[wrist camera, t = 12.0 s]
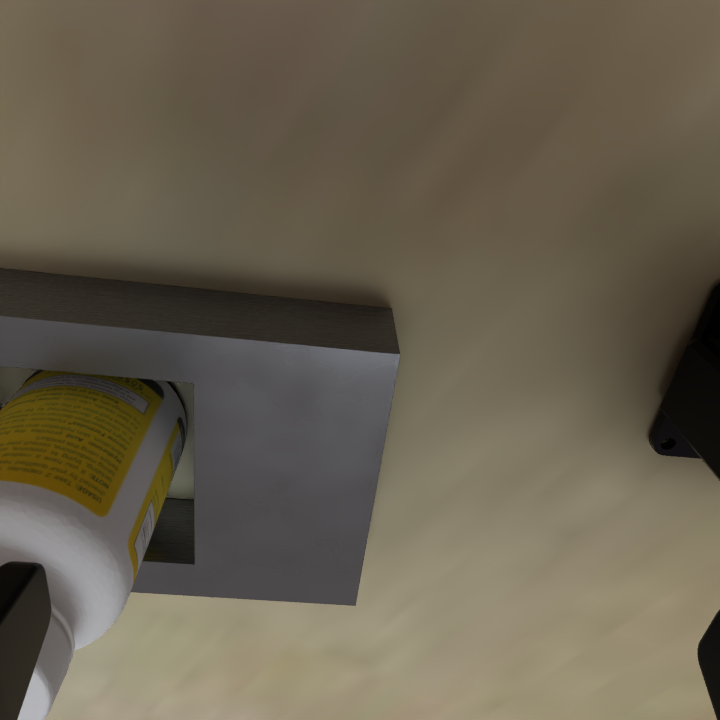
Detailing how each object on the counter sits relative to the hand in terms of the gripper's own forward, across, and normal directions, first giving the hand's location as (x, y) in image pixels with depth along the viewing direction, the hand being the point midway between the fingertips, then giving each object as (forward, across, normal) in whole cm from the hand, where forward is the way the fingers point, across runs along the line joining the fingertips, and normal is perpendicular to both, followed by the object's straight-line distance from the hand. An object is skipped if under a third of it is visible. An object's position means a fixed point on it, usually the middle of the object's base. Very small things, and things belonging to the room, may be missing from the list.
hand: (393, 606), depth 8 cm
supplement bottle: (+12, +8, +6) cm, 16 cm away
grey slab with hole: (+12, +8, +6) cm, 16 cm away
